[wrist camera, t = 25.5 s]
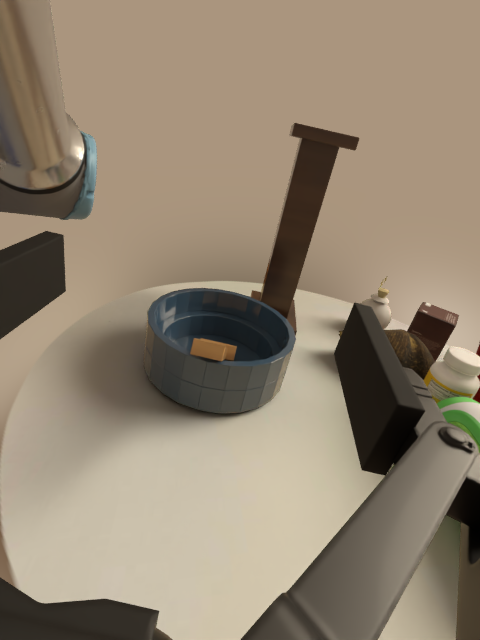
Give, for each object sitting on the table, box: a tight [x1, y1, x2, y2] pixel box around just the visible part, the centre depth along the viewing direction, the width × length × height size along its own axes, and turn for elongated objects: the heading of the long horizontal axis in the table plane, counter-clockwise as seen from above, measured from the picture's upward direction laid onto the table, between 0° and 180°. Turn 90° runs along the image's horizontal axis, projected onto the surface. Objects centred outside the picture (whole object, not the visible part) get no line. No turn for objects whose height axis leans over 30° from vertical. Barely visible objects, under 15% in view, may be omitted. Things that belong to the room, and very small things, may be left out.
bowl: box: [144, 288, 296, 413], centre depth 44 cm, size 18×18×7 cm
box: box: [407, 302, 459, 362], centre depth 60 cm, size 6×6×7 cm
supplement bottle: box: [423, 347, 480, 403], centre depth 43 cm, size 5×5×10 cm
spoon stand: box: [251, 123, 359, 335], centre depth 54 cm, size 12×8×29 cm, turn 174°
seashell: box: [339, 330, 435, 380], centre depth 51 cm, size 16×9×7 cm, turn 80°
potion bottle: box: [360, 279, 391, 329], centre depth 63 cm, size 6×7×10 cm
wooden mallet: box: [190, 338, 237, 361], centre depth 36 cm, size 21×4×2 cm
